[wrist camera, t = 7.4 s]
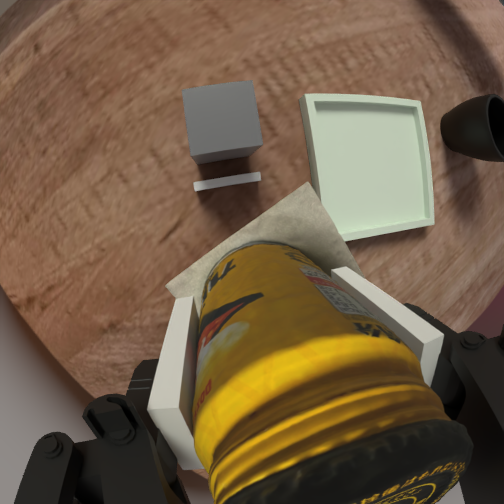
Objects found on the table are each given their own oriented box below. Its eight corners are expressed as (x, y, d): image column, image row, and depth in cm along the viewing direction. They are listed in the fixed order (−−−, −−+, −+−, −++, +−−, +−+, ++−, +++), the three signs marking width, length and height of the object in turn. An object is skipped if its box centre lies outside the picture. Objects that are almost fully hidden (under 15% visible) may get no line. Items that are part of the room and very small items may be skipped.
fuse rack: (183, 102, 24) (172, 72, 16) (243, 93, 25) (255, 61, 17) (231, 366, 31) (238, 412, 24) (281, 356, 32) (299, 399, 24)
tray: (298, 99, 25) (304, 93, 24) (410, 104, 27) (420, 101, 25) (318, 241, 29) (325, 244, 27) (424, 221, 31) (434, 224, 29)
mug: (484, 141, 29) (530, 140, 20) (448, 170, 30) (501, 173, 20) (465, 92, 27) (510, 83, 18) (424, 113, 27) (478, 102, 18)
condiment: (165, 284, 13) (81, 532, 2) (307, 181, 13) (575, 209, 2) (250, 376, 15) (299, 573, 4) (371, 291, 15) (532, 423, 3)
